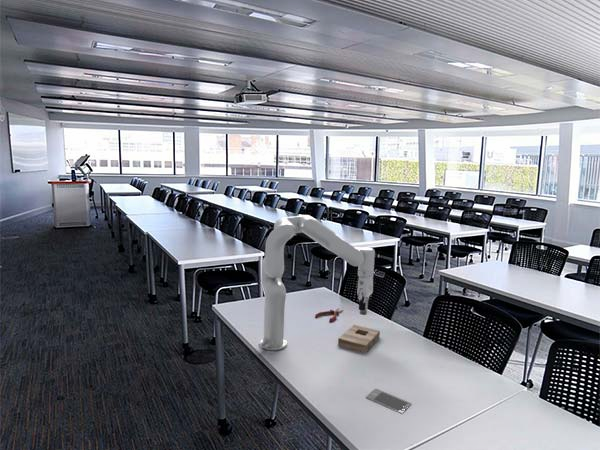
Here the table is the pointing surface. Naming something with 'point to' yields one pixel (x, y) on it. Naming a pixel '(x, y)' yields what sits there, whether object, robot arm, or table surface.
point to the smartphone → (388, 400)
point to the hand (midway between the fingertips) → (363, 308)
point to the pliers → (335, 312)
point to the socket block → (359, 338)
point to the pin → (365, 307)
